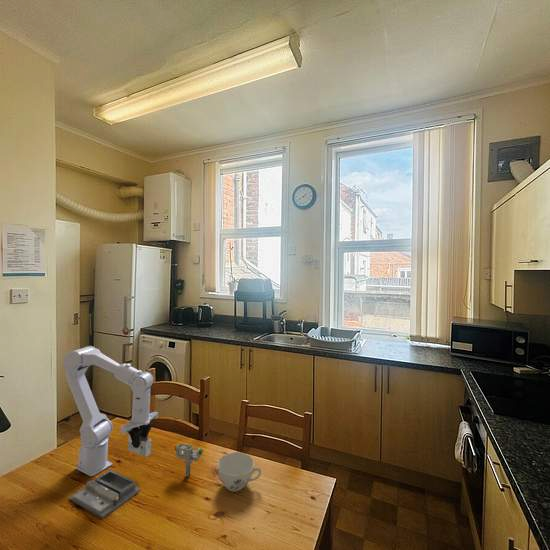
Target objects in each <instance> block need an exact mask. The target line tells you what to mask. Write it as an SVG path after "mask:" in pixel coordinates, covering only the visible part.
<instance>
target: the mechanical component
mask: <svg viewBox="0 0 550 550" xmlns="http://www.w3.org/2000/svg"><path fill="white" fill-rule="evenodd" d="M174 451H175V456H176V458H177V459H179V460H184V464H185V475H184V476H185V477H188V478H189V477H190V475H191V464H192V463H193V462H197V461H198V460H199V459H200V458H201V457H202V455H203V453H204V449H202V447H198V449H197V450H195V448H194V445H192V444H186V443H179V444H177V445H176V444H175V447H174Z"/></svg>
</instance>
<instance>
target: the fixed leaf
mask: <svg viewBox="0 0 550 550" xmlns="http://www.w3.org/2000/svg"><path fill="white" fill-rule="evenodd" d="M140 492H141V488H140V487H139V486H137V484H136V481H135V480H133V479H131V478H129V477H128V476H125V475H123V474H120V473H118V472H117V471H115V470H112V469H109V470H108V471H106V472H105V473H102V474H101V475H99V476H98V477H96V478H94V480H93V479H90V480H89V481H87V482H86V484H85V486H84V487H82V488H81V489H80V490H78V491H76V492H75V493H73V494H72V495H70V496H69V499H68V500H69V501H72V502H73V503H74V504H76V505H78V506H80V507H81V508H83V509H84V510H86V511H87V512H90V513H92V515H94V516H96V517H98V518H100V519H102V520H103V519H104V518H106V517H107V516H108V515H110V514H111V513H113V512H114V511H115V510H116V509H118V508H119V507H121V506H122V505H123V504H125V503H126V502H128V501H129V500H130V499H132V498H133V497H134V496H136V495H137V494H139V493H140Z"/></svg>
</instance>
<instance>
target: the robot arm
mask: <svg viewBox="0 0 550 550" xmlns="http://www.w3.org/2000/svg"><path fill="white" fill-rule="evenodd" d="M100 350H101V349H98V348H96V347H94V346H92V345H86V346H85V347H82V348H79V349H75V350H70V351H68V352H67V353H66V354H65V356H64V358H63V360H62V361H61V362H62V364H63V366H64V371H65V372H64V375H65V379H66V382H67V385H68V387H69V390H70V392H71V395H72V397H73V399H74V402H75V404H76V406H77V409H78V412H79V415H80V417H81V420H82V424H81V426H80V428H79V434H80V443H81V445H80V446H79V450H78V465H76V466H75V470H78V471H79V472H82V473H83V474H86V475H87V476H88V477H94V476H96V475H97V474H99V473H101V472H102V471H104V470H105V469H108V468H109V467H111V466H112V465H113V462H111V461H109V460H108V453H109V451H108V450H109V449H108V448H109V438H110V435H111V434H112V432H113V431H114V430H113V429H114V425H113V423H112V421H111V420H110V419H109V418H108V416H107V415H106V414H105V413H101V412H100V409H99V408H98V405H97V403H96V400H95V397H94V395H93V392H92V390H91V388H90V387H91V386H90V385H89V382H88V380H87V378H86V371H88V368H89V367H90V366H97V367H99V368H102V369H104V370H106V371H108V372H109V373H110V372H111V373H113V374H114V378H115V379H116V380H119V381H120V382H122V383H124V384H126V385H128V386H130V387H129V388H130V389H131V391H132V409H131V411H132V412H131V420H130V421H128V422H127V423H126V424H124V425H123V426H121V427H120V434H121V435H122V434H123V435H126V434H127V433H128V436H130V437H131V440H132V444H133V447H134V448H138V447H139V440H140V435H141V436H143V437H146V438H148V436H149V433H150V431H151V429H152V428H153V426H154V422H153V421H152V420H154V419H158V418H159V412H158V411H153V412H150V405H151V386H152V385H153V384H154V381H155V379H154V375H153V374H152V373H151V372H149V371H148V370H147V371H142V370H141V369H139V370H138V369H137V368H136V367H133V366H132V364H131V363H122V364H121V363H118V362H117V361H115V360H114V359H112V358H110V357H108V356H106V355H105V354H104V353H102V352H101V351H100Z"/></svg>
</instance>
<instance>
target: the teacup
mask: <svg viewBox="0 0 550 550" xmlns="http://www.w3.org/2000/svg"><path fill="white" fill-rule="evenodd" d="M216 465H217V472H218V477H219V480H220V481H221V484H222V485H223V486H224V487H225V488H226V489H227V490H228V492H229V491H230V492H231V493H235V492H239V491H241V490H243V489H244V488H245V487H246V486H247V485H248V484H249V482H252V481H257V480H258V479H259V478H260V477H261V475H262V469H261V468H260V467H258V466H256V467H255V462H254V459H253V458H252V457H251V455H249V454H247V453H245V452H239V451H238V452H230V453H228V454H225V455H223V456H221V457H220V458H219V460H218V461H217V464H216ZM256 471H257V472H258V475H257V476H254V477H252V476H253V474H254V473H255V472H256Z"/></svg>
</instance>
